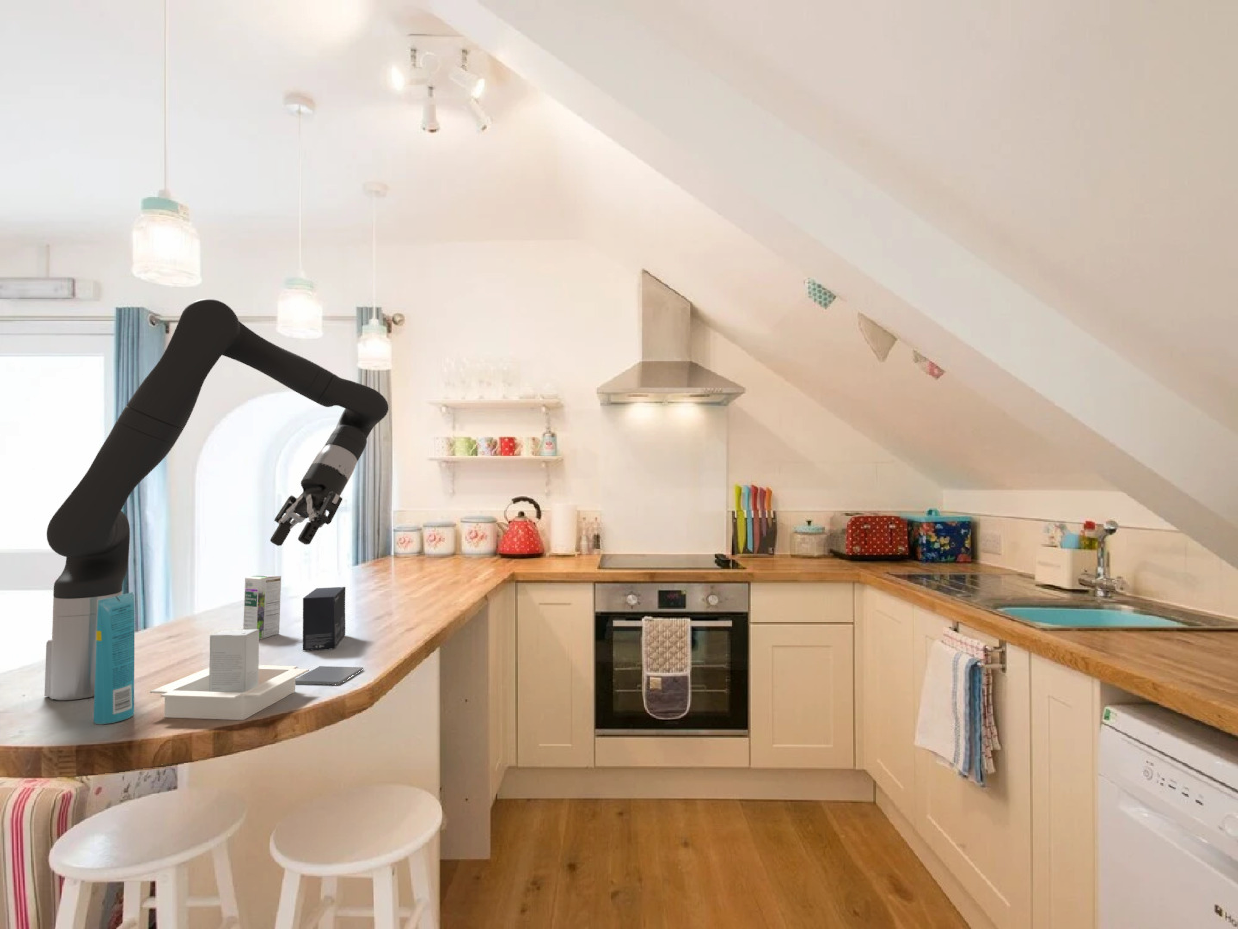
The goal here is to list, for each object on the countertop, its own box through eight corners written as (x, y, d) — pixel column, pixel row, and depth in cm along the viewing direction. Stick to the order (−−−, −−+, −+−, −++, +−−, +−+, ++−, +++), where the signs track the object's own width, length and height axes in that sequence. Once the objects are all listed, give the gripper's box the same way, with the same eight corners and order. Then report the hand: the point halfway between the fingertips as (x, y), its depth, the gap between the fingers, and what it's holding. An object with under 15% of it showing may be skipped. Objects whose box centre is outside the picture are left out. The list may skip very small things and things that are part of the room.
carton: (141, 720, 94) (142, 694, 94) (218, 686, 110) (218, 664, 111) (251, 724, 93) (252, 698, 93) (313, 689, 109) (313, 666, 109)
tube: (110, 711, 98) (114, 592, 99) (144, 709, 99) (148, 591, 100) (79, 729, 91) (84, 600, 91) (116, 727, 92) (120, 599, 92)
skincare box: (259, 699, 104) (260, 628, 104) (244, 708, 100) (246, 634, 100) (223, 699, 104) (224, 629, 104) (206, 708, 99) (208, 635, 100)
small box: (315, 637, 146) (316, 587, 147) (345, 635, 148) (346, 586, 149) (301, 651, 134) (302, 597, 134) (334, 649, 136) (335, 595, 136)
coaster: (292, 683, 112) (292, 680, 112) (319, 669, 121) (319, 666, 121) (338, 685, 111) (338, 682, 111) (363, 670, 120) (363, 667, 120)
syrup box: (241, 637, 146) (243, 577, 146) (263, 632, 151) (264, 573, 152) (259, 639, 144) (261, 578, 144) (280, 634, 149) (282, 574, 150)
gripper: (293, 465, 123) (249, 534, 114) (339, 458, 116) (296, 531, 107) (322, 485, 128) (282, 553, 119) (367, 480, 121) (328, 552, 112)
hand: (288, 543), depth 113 cm, fingers open, 8 cm apart
